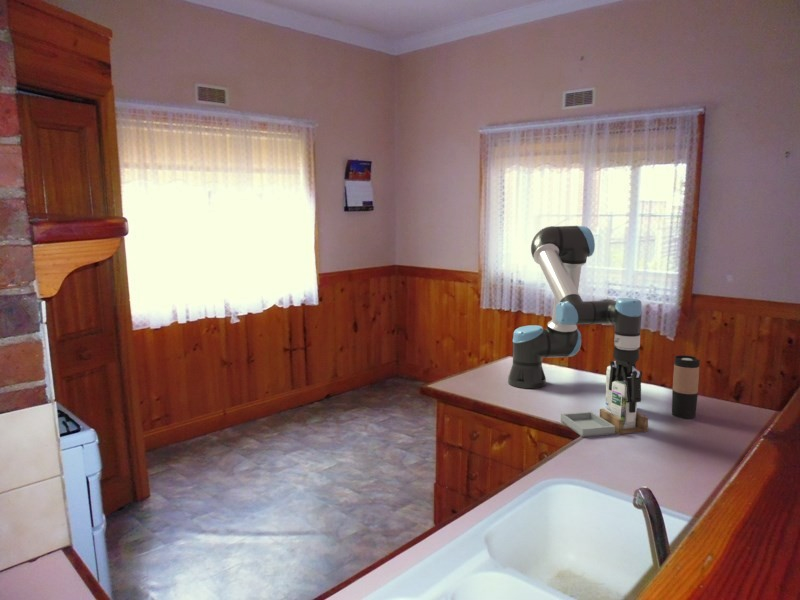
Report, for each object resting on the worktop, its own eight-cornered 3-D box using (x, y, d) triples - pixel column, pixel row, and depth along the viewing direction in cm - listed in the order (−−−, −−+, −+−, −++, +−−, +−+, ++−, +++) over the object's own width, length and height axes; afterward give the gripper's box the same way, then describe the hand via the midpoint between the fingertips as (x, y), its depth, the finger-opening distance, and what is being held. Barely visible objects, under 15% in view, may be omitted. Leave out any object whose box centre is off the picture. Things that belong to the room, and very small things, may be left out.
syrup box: (609, 424, 180) (611, 381, 178) (622, 421, 182) (625, 379, 180) (622, 430, 175) (624, 386, 173) (636, 427, 177) (638, 383, 175)
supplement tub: (640, 409, 194) (642, 369, 192) (623, 415, 189) (625, 373, 187) (615, 402, 202) (617, 363, 200) (599, 407, 197) (600, 367, 195)
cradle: (599, 422, 183) (599, 408, 182) (626, 419, 185) (627, 406, 184) (618, 434, 172) (619, 420, 172) (647, 431, 174) (648, 418, 173)
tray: (560, 421, 184) (560, 414, 184) (591, 418, 186) (591, 411, 186) (582, 437, 170) (582, 429, 170) (614, 434, 172) (615, 426, 172)
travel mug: (667, 415, 188) (671, 358, 185) (675, 410, 194) (678, 354, 191) (692, 421, 183) (696, 362, 180) (699, 415, 188) (703, 357, 186)
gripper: (599, 341, 184) (596, 408, 187) (634, 355, 165) (630, 429, 168) (619, 340, 185) (616, 406, 188) (657, 354, 166) (652, 427, 169)
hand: (623, 417), depth 178 cm, fingers closed on syrup box, 6 cm apart
